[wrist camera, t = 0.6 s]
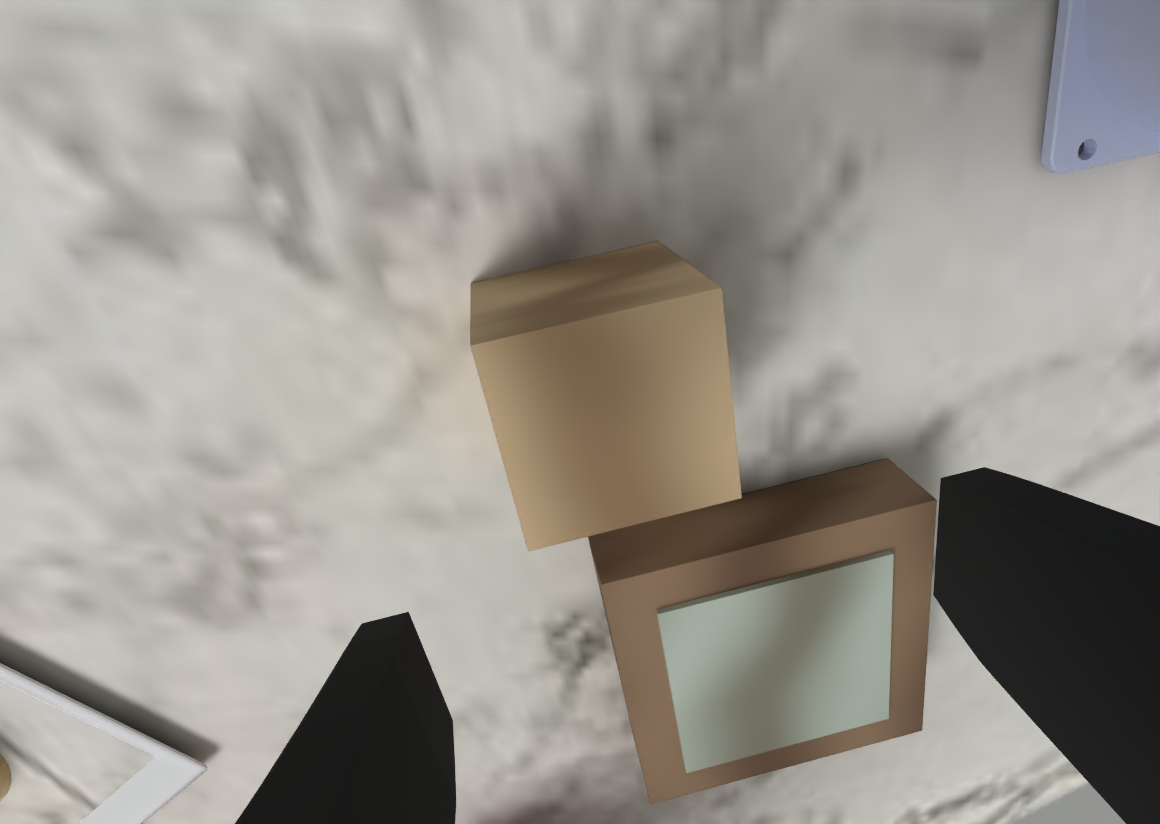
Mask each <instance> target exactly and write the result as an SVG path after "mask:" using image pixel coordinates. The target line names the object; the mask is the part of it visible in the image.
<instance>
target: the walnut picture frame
mask: <svg viewBox="0 0 1160 824" xmlns="http://www.w3.org/2000/svg"><path fill="white" fill-rule="evenodd" d="M741 496H742V498H740V499H736V500H732V501H728V502H724V503H720V504H716V505H712V506H708V507H704V508H700V509H696V510H692V511H688V512H684V513H680V514H676V515H672V516H668V517H664V518H660V519H656V520H652V521H648V522H644V523H640V524H636V525H632V526H628V527H624V528H620V529H616V530H612V531H608V532H604V533H600V534H596V535H592V536H588V539H589V543H590V548H591V552H592V556H593V561H594V565H595V570H596V574H597V578H598V583H599V587H600V591H601V596H602V600H603V605H604V609H605V613H606V618H607V622H608V627H609V631H610V635H611V640H612V644H613V649H614V653H615V657H616V662H617V666H618V671H619V675H620V679H621V684H622V688H623V692H624V697H625V701H626V706H627V710H628V714H629V719H630V723H631V728H632V732H633V736H634V741H635V745H636V749H637V753H638V757H639V760H640V764H641V768H642V772H643V776H644V780H645V784H646V788H647V792H648V796H649V800H650V804H653V803H657V802H661V801H664V800H668V799H672V798H675V797H679V796H683V795H686V794H690V793H694V792H697V791H701V790H705V789H708V788H712V787H716V786H719V785H723V784H727V783H730V782H734V781H738V780H742V779H745V778H749V777H753V776H756V775H760V774H764V773H767V772H771V771H775V770H778V769H782V768H786V767H789V766H793V765H797V764H800V763H804V762H808V761H811V760H815V759H819V758H823V757H826V756H830V755H834V754H837V753H841V752H845V751H848V750H852V749H856V748H859V747H863V746H867V745H870V744H874V743H878V742H881V741H885V740H889V739H892V738H896V737H900V736H904V735H907V734H911V733H915V732H918V731H922V724H923V708H924V692H925V676H926V660H927V644H928V629H929V613H930V597H931V581H932V565H933V549H934V533H935V518H936V502H937V500H936V499H935V498H934V497H932V496H931V495H930V494H929V493H928V492H927V491H925V490H924V489H923V488H922V487H921V486H920V485H918V484H917V483H916V482H915V481H914V480H912V479H911V478H910V477H909V476H908V475H907V474H905V473H904V472H903V471H902V470H901V469H899V468H898V467H897V466H896V465H895V464H894V463H892V462H891V461H890V460H889V459H888V458H887V459H883V460H879V461H875V462H871V463H867V464H863V465H859V466H855V467H851V468H847V469H843V470H839V471H835V472H831V473H827V474H823V475H819V476H815V477H811V478H807V479H803V480H799V481H795V482H791V483H787V484H783V485H779V486H775V487H771V488H767V489H763V490H759V491H755V492H751V493H747V494H743V495H741Z"/></svg>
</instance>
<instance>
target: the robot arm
mask: <svg viewBox="0 0 1160 824" xmlns="http://www.w3.org/2000/svg"><path fill="white" fill-rule="evenodd" d="M1083 142H1084V149H1083V152H1082V153H1081V154H1080V155H1079V157H1078V150H1079V147H1080V145H1081V144H1082V143H1083ZM1156 152H1160V0H1059V9H1058V18H1057V26H1056V35H1055V43H1054V52H1053V61H1052V69H1051V78H1050V87H1049V95H1048V104H1047V112H1046V121H1045V130H1044V138H1043V147H1042V156H1041V159H1042V165H1043V167H1044V169H1045V170H1047V171H1049V172H1052V173H1069V172H1073V171H1078V170H1082V169H1086V168H1091V167H1095V166H1099V165H1104V164H1108V163H1113V162H1117V161H1121V160H1126V159H1130V158H1135V157H1139V156H1143V155H1148V154H1152V153H1156ZM933 595H934V597H935V598H936V600H937V601H938V602H939V604H940V605H941V607H942V608H943V610H944V611H945V613H946V614H947V616H948V617H949V619H950V620H951V622H952V623H953V625H954V626H955V627H956V629H957V630H958V632H959V633H960V635H961V636H962V637H963V639H964V640H965V641H966V643H967V644H968V646H969V647H970V648H971V650H972V651H973V652H974V654H975V655H976V656H977V658H978V659H979V661H980V662H981V663H982V664H983V665H984V667H985V668H986V669H987V670H988V671H989V672H990V673H991V675H992V676H993V677H994V678H995V679H996V680H997V681H998V682H999V684H1000V685H1001V686H1002V687H1003V688H1004V689H1005V690H1006V691H1007V693H1008V694H1009V695H1010V696H1011V697H1012V698H1013V699H1014V700H1015V702H1016V703H1017V704H1018V705H1019V706H1020V707H1021V708H1022V709H1023V710H1024V712H1025V713H1026V714H1027V715H1028V716H1029V717H1030V718H1031V719H1032V720H1033V722H1034V723H1035V724H1036V725H1037V726H1038V727H1039V728H1040V729H1041V730H1042V731H1043V733H1044V734H1045V735H1046V736H1047V737H1048V738H1049V739H1050V740H1051V741H1052V742H1053V744H1054V745H1055V746H1056V747H1057V748H1058V749H1059V750H1060V751H1061V752H1062V753H1063V755H1064V756H1065V757H1066V758H1067V759H1068V760H1069V761H1070V762H1071V763H1072V764H1073V766H1074V767H1075V768H1076V769H1077V770H1078V771H1079V772H1080V773H1081V774H1082V775H1083V777H1084V778H1085V779H1086V780H1087V781H1088V782H1089V783H1090V784H1091V785H1092V786H1093V788H1094V789H1095V790H1096V791H1097V792H1098V793H1099V794H1100V795H1101V796H1102V797H1103V798H1104V800H1105V801H1106V802H1107V803H1108V804H1109V805H1110V806H1111V807H1112V809H1114V811H1115V812H1116V813H1117V814H1118V815H1119V816H1120V817H1121V818H1122V820H1123V821H1124V822H1125V823H1126V824H1160V526H1157V525H1154V524H1152V523H1149V522H1146V521H1143V520H1140V519H1137V518H1134V517H1132V516H1129V515H1126V514H1123V513H1120V512H1117V511H1114V510H1112V509H1109V508H1106V507H1103V506H1100V505H1097V504H1095V503H1092V502H1089V501H1086V500H1083V499H1080V498H1077V497H1075V496H1072V495H1069V494H1066V493H1063V492H1060V491H1057V490H1054V489H1052V488H1049V487H1046V486H1043V485H1040V484H1037V483H1034V482H1031V481H1028V480H1025V479H1022V478H1019V477H1016V476H1012V475H1009V474H1006V473H1003V472H999V471H996V470H992V469H989V468H985V467H983V468H979V469H975V470H971V471H967V472H963V473H960V474H956V475H952V476H948V477H944V478H941V483H940V499H939V515H938V531H937V546H936V562H935V578H934V594H933ZM455 813H456V782H455V756H454V737H453V720H452V717H451V715H450V712H449V710H448V707H447V705H446V703H445V700H444V698H443V695H442V693H441V690H440V688H439V685H438V683H437V680H436V678H435V676H434V673H433V671H432V668H431V666H430V663H429V661H428V658H427V656H426V654H425V651H424V649H423V646H422V644H421V641H420V639H419V636H418V634H417V631H416V629H415V627H414V624H413V622H412V619H411V617H410V614H409V612H406V613H402V614H398V615H394V616H390V617H386V618H382V619H378V620H374V621H370V622H366V623H362V624H361V626H360V627H359V629H358V630H357V632H356V633H355V635H354V636H353V638H352V640H351V641H350V643H349V644H348V646H347V648H346V649H345V651H344V652H343V654H342V656H341V657H340V659H339V661H338V662H337V664H336V666H335V667H334V669H333V670H332V672H331V674H330V675H329V677H328V679H327V680H326V682H325V684H324V685H323V687H322V689H321V690H320V692H319V694H318V695H317V697H316V698H315V700H314V702H313V703H312V705H311V707H310V708H309V710H308V712H307V713H306V715H305V716H304V718H303V720H302V721H301V723H300V725H299V726H298V728H297V729H296V731H295V732H294V734H293V736H292V737H291V739H290V740H289V742H288V743H287V745H286V747H285V748H284V750H283V751H282V753H281V754H280V756H279V758H278V759H277V761H276V762H275V764H274V765H273V767H272V769H271V770H270V772H269V773H268V775H267V776H266V778H265V779H264V781H263V783H262V784H261V786H260V787H259V789H258V790H257V792H256V793H255V795H254V796H253V798H252V799H251V801H250V802H249V804H248V805H247V807H246V808H245V810H244V811H243V813H242V814H241V816H240V817H239V818H238V820H237V821H236V823H235V824H455Z"/></svg>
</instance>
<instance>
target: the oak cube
mask: <svg viewBox="0 0 1160 824" xmlns="http://www.w3.org/2000/svg"><path fill="white" fill-rule="evenodd" d="M470 346H471V350H472V353H473V357H474V360H475V364H476V368H477V371H478V375H479V378H480V382H481V385H482V389H483V392H484V396H485V400H486V403H487V407H488V410H489V414H490V417H491V421H492V424H493V428H494V432H495V435H496V439H497V442H498V446H499V449H500V453H501V456H502V460H503V464H504V467H505V471H506V474H507V478H508V481H509V485H510V488H511V492H512V496H513V499H514V503H515V506H516V510H517V513H518V517H519V520H520V524H521V528H522V531H523V535H524V538H525V542H526V545H527V549H528V551H532V550H536V549H540V548H544V547H548V546H552V545H556V544H560V543H564V542H568V541H572V540H576V539H580V538H584V537H588V536H592V535H596V534H600V533H604V532H608V531H612V530H616V529H620V528H624V527H628V526H632V525H636V524H640V523H644V522H648V521H652V520H656V519H660V518H664V517H668V516H672V515H676V514H680V513H684V512H688V511H692V510H696V509H700V508H704V507H708V506H712V505H716V504H720V503H724V502H728V501H732V500H736V499H740V498H742V496H741V485H740V474H739V464H738V453H737V443H736V432H735V421H734V411H733V400H732V390H731V379H730V368H729V358H728V347H727V337H726V326H725V315H724V305H723V294H722V287H720V286H719V285H718V284H716V283H715V282H714V281H712V280H711V279H709V278H708V277H707V276H705V275H704V274H703V273H701V272H700V271H698V270H697V269H696V268H694V267H693V266H692V265H690V264H689V263H687V262H686V261H685V260H683V259H682V258H680V257H679V256H678V255H676V254H675V253H674V252H672V251H671V250H669V249H668V248H667V247H665V246H664V245H663V244H661V243H660V242H658V241H655V242H651V243H646V244H642V245H637V246H633V247H628V248H624V249H620V250H615V251H611V252H606V253H602V254H597V255H593V256H589V257H584V258H580V259H575V260H571V261H566V262H562V263H558V264H553V265H549V266H544V267H540V268H535V269H531V270H527V271H522V272H518V273H513V274H509V275H504V276H500V277H496V278H491V279H487V280H482V281H478V282H473V283H471V317H470Z"/></svg>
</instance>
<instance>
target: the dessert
mask: <svg viewBox="0 0 1160 824" xmlns="http://www.w3.org/2000/svg"><path fill="white" fill-rule="evenodd" d="M0 682H2V683H4V684H6V685H8V686H11V687H13V688H15V689H17V690H19V691H21V692H23V693H25V694H27V695H29V696H31V697H33V698H35V699H38V700H40V701H42V702H44V703H46V704H48V705H50V706H52V707H54V708H56V709H58V710H60V711H62V712H65V713H67V714H69V715H71V716H73V717H75V718H77V719H79V720H81V721H83V722H85V723H87V724H89V725H91V726H94V727H96V728H98V729H100V730H102V731H104V732H106V733H108V734H110V735H112V736H114V737H116V738H118V739H121V740H123V741H125V742H127V743H129V744H131V745H133V746H135V747H137V748H139V749H141V750H143V751H145V752H147V753H150V754H151V755H152V756H153V760H152V761H150V762H149V763H148V764H147V765H146V766H145V767H144V768H142V769H141V770H140V771H139V772H138V773H137V774H135V775H134V776H133V777H132V778H131V779H130V780H128V781H127V782H126V783H125V784H124V785H123V786H121V787H120V788H119V789H118V790H117V791H116V792H114V793H113V794H112V795H111V796H110V797H109V798H107V799H106V800H105V801H104V802H103V803H102V804H101V805H99V806H98V807H97V808H96V809H95V810H94V811H92V812H91V813H90V814H89V815H88V816H87V817H85V818H84V819H83V820H82V821H81V822H80V823H78V824H142V823H143V822H145V821H146V820H147V819H148V818H149V817H151V816H152V815H153V814H154V813H155V812H157V811H158V810H159V809H160V808H162V807H163V806H164V805H165V804H166V803H168V802H169V801H170V800H171V799H172V798H174V797H175V796H176V795H177V794H178V793H180V792H181V791H182V790H183V789H185V788H186V787H187V786H188V785H189V784H191V783H192V782H193V781H194V780H195V779H197V778H198V777H199V776H200V775H202V774H203V773H204V772H205V771H206V770H207V766H206V765H205V764H204V763H202V762H200V761H198V760H196V759H194V758H192V757H190V756H188V755H186V754H184V753H182V752H180V751H177V750H175V749H173V748H171V747H169V746H167V745H165V744H163V743H161V742H159V741H157V740H155V739H153V738H151V737H149V736H147V735H145V734H143V733H141V732H139V731H137V730H135V729H133V728H131V727H129V726H127V725H125V724H123V723H121V722H119V721H117V720H115V719H113V718H111V717H109V716H107V715H105V714H102V713H100V712H98V711H96V710H94V709H92V708H90V707H88V706H86V705H84V704H82V703H80V702H78V701H76V700H74V699H72V698H70V697H68V696H66V695H64V694H62V693H60V692H58V691H56V690H54V689H52V688H50V687H48V686H46V685H44V684H42V683H40V682H38V681H36V680H34V679H32V678H30V677H28V676H25V675H23V674H21V673H19V672H17V671H15V670H13V669H11V668H9V667H7V666H5V665H3V664H1V663H0ZM10 785H11V772H10V769H9V766H8V764H7V762H6V761H5V759H4V758H3V756H2V755H1V754H0V801H1V800H2V799H3V798H4V797H5V795H6V794H7V792H8V790H9V788H10Z"/></svg>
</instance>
